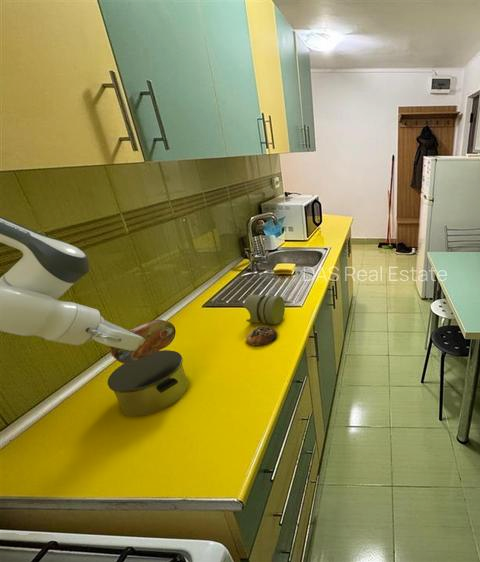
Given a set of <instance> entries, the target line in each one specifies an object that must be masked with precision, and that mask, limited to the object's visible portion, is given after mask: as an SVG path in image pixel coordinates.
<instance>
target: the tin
mask: <svg viewBox="0 0 480 562" xmlns="http://www.w3.org/2000/svg"><path fill="white" fill-rule="evenodd" d="M128 331H130V332H132V333H134V334H137V335H139V336H141V337H143V338H145V341H144V343H143V344H142V345H140V346H139V347H138V349H137V350H136V351H129V350H125V349H120V348H116V347H112V346H109V347H110V355H111V357H113V358H114V359H115V360H116V361H117V362H119V363H121V364H124V363H125V364H130V363H134V362H137V361H139V360H141V359H143V358H145V357H147V356H149V355H151V354H153V353H155V352H157V351H161V350H163V349H165V348H168V347H169V345H171V343H173V342H174V339H175V337H176V334H177V333H176V332H177V331H176V327H175V325H174V324H173V323H172V322H171V321H168V320H163V319H154V320H151V321H149V322H146V323H143V324H141V325H139V326H136V327H134V328H132V329H129V330H128Z"/></svg>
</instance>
